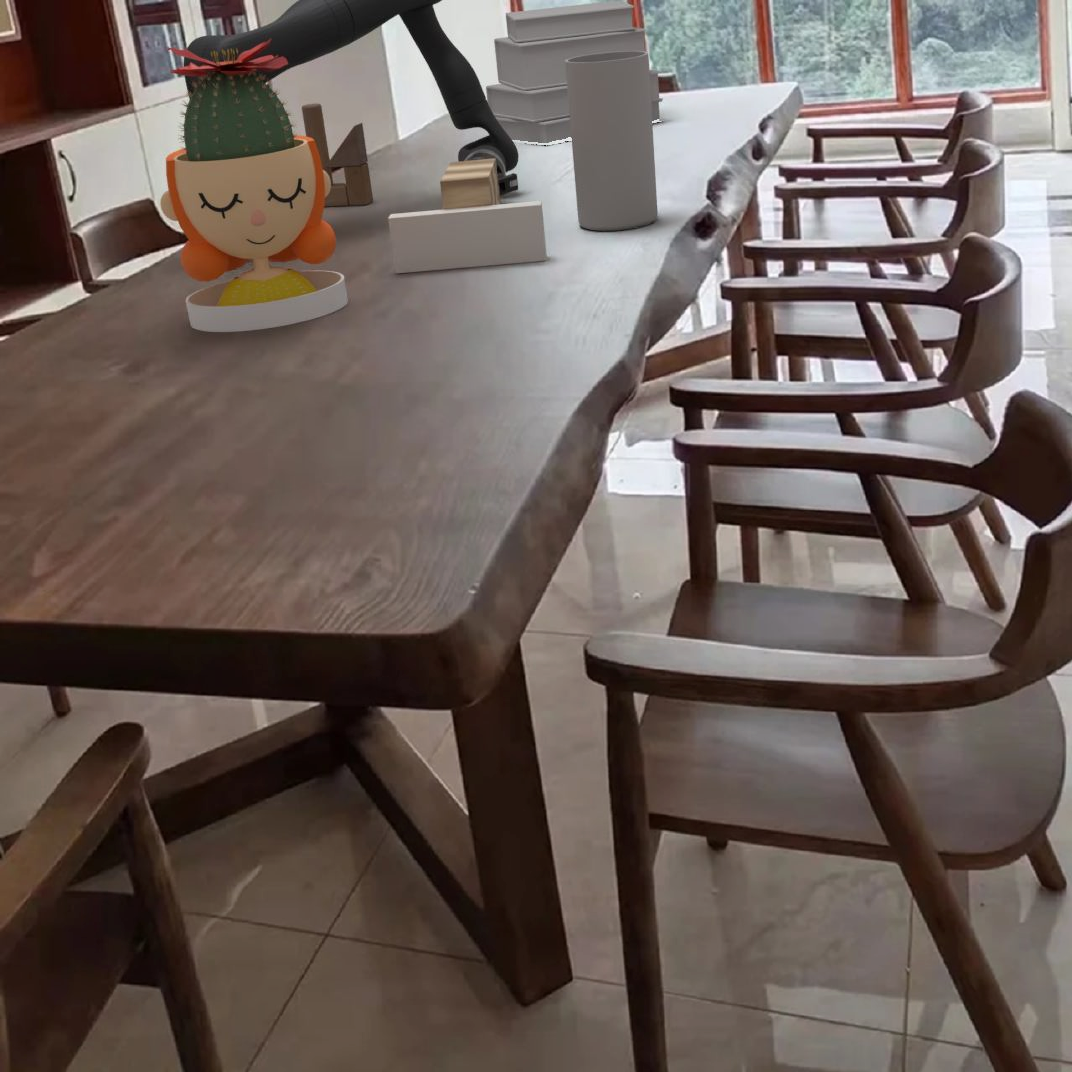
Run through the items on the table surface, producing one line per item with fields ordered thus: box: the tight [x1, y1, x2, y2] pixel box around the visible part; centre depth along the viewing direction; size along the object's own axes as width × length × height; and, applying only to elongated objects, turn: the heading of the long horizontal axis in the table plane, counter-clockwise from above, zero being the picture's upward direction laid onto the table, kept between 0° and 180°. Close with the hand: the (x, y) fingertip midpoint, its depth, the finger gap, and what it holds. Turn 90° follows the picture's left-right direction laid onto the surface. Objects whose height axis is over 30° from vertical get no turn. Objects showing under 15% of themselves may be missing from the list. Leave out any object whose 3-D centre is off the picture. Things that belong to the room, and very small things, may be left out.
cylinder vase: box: [565, 51, 659, 232], centre depth 214 cm, size 12×12×25 cm
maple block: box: [439, 158, 501, 210], centre depth 209 cm, size 16×7×12 cm, turn 177°
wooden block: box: [301, 102, 374, 208], centre depth 253 cm, size 4×11×18 cm, turn 73°
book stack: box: [485, 0, 664, 143], centre depth 307 cm, size 30×35×26 cm
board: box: [387, 200, 548, 274], centre depth 202 cm, size 3×22×8 cm, turn 87°
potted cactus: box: [159, 39, 349, 333], centre depth 184 cm, size 22×22×35 cm
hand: (476, 196), depth 216 cm, fingers closed
